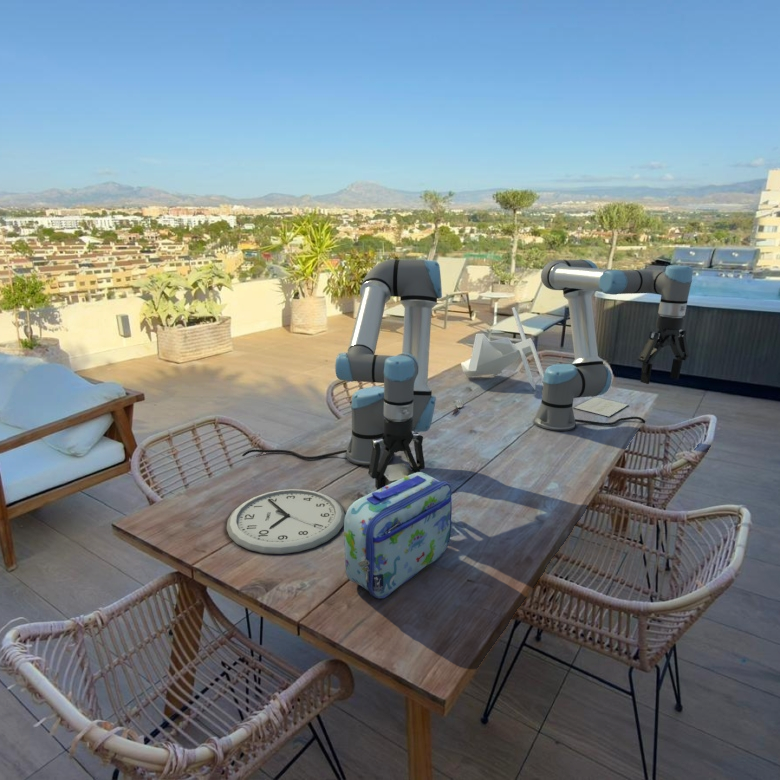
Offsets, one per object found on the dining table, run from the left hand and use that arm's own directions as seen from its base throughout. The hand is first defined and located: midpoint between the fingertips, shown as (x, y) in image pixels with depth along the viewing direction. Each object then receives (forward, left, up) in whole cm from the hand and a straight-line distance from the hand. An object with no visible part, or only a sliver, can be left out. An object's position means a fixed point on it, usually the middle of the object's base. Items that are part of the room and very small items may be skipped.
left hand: (396, 496), depth 140 cm
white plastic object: (-1, +132, -4) cm, 132 cm away
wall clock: (-23, -17, -4) cm, 29 cm away
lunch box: (+11, -24, -4) cm, 27 cm away
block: (0, 0, -2) cm, 2 cm away
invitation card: (+47, +117, -4) cm, 126 cm away
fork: (-8, +85, -4) cm, 85 cm away
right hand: (+63, +70, +23) cm, 97 cm away
